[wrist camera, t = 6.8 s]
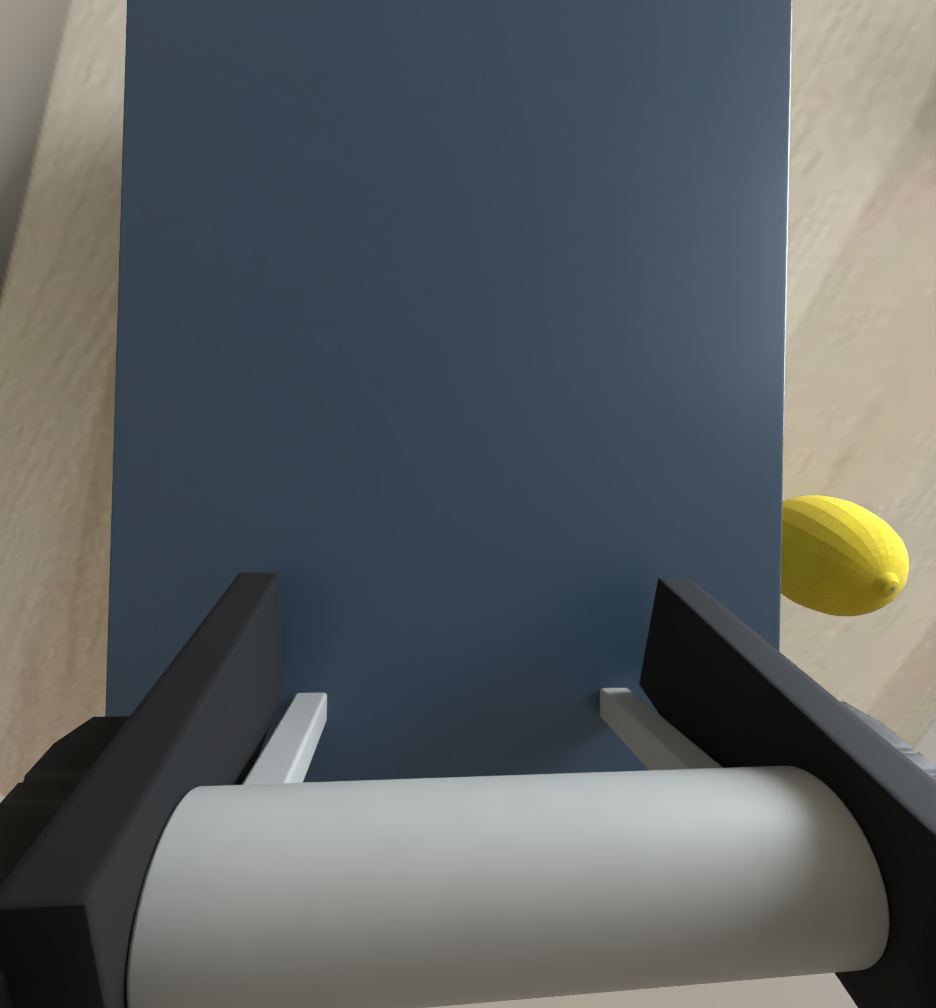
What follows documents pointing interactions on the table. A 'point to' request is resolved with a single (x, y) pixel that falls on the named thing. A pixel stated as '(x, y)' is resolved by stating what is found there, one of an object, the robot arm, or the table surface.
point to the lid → (463, 494)
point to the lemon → (839, 557)
